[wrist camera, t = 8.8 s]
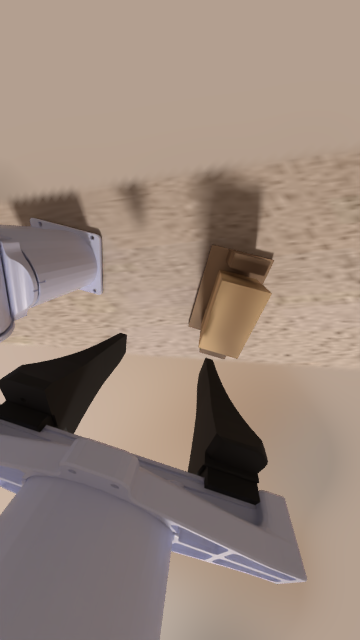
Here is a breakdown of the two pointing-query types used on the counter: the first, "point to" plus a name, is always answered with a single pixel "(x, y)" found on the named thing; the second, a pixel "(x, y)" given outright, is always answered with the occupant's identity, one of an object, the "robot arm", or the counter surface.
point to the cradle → (230, 263)
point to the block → (232, 313)
